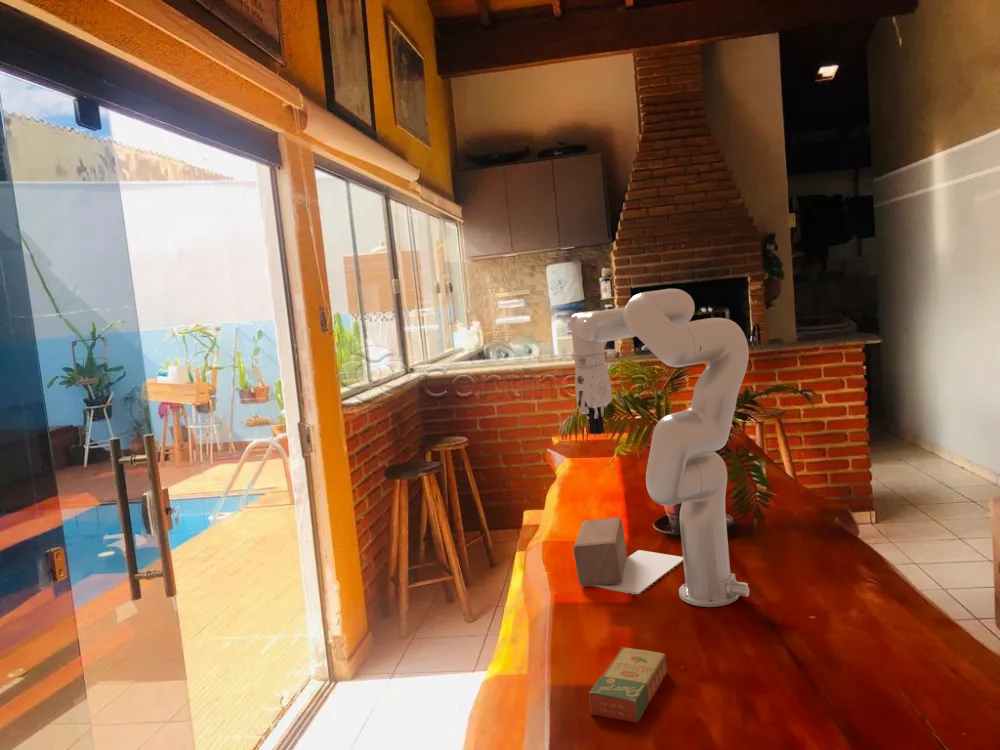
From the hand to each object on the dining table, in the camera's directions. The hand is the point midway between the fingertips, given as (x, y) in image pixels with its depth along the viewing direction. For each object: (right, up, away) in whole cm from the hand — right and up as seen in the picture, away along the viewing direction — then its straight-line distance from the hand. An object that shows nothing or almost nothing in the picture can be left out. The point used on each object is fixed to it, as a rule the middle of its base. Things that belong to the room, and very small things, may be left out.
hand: (597, 432), depth 192 cm
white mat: (+8, -32, -12) cm, 35 cm away
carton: (-2, -40, -63) cm, 74 cm away
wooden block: (-3, -28, -21) cm, 35 cm away
